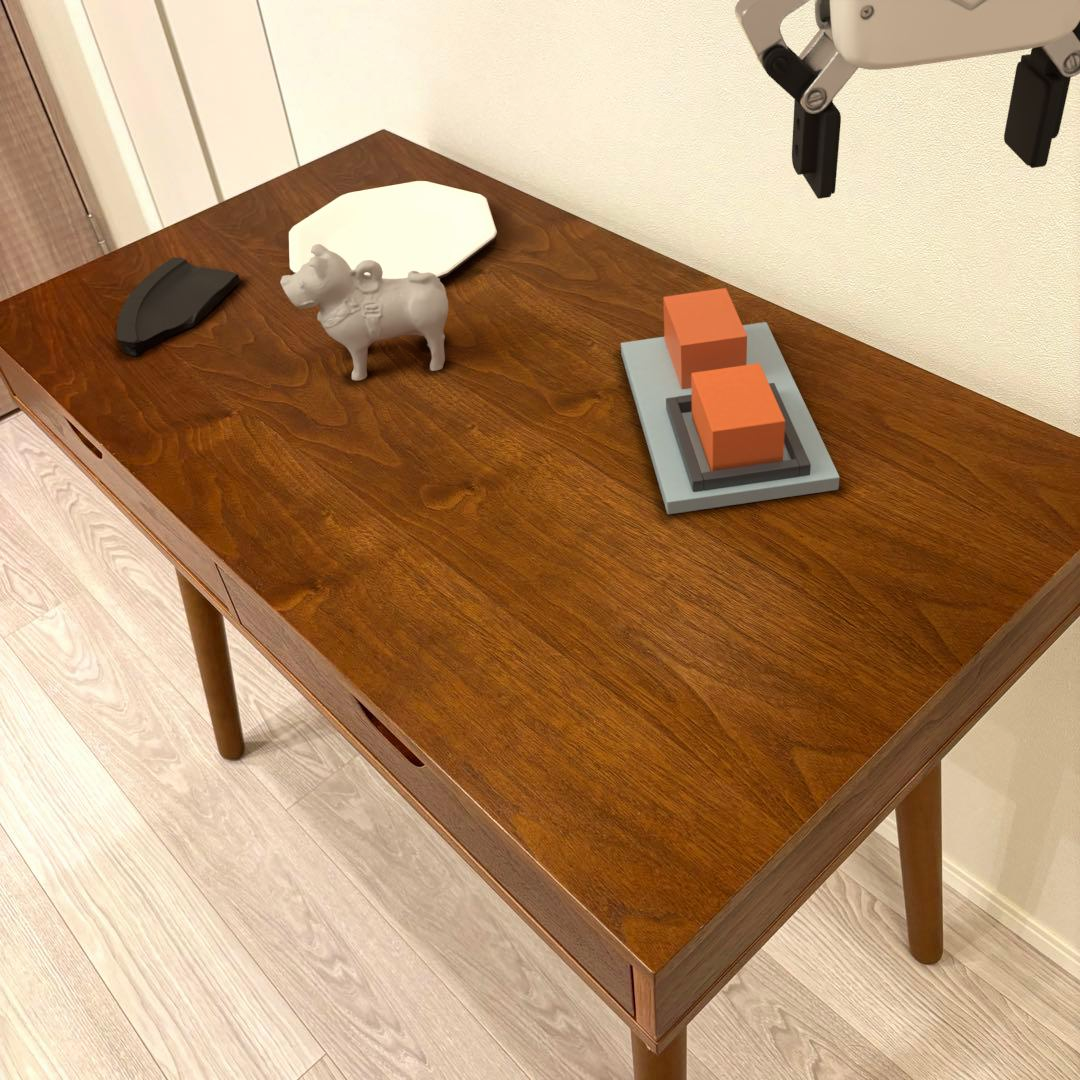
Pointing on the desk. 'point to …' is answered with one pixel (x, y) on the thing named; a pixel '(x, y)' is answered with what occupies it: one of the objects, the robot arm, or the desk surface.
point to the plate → (398, 229)
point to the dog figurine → (369, 304)
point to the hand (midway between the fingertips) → (920, 170)
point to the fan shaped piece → (170, 303)
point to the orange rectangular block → (737, 417)
